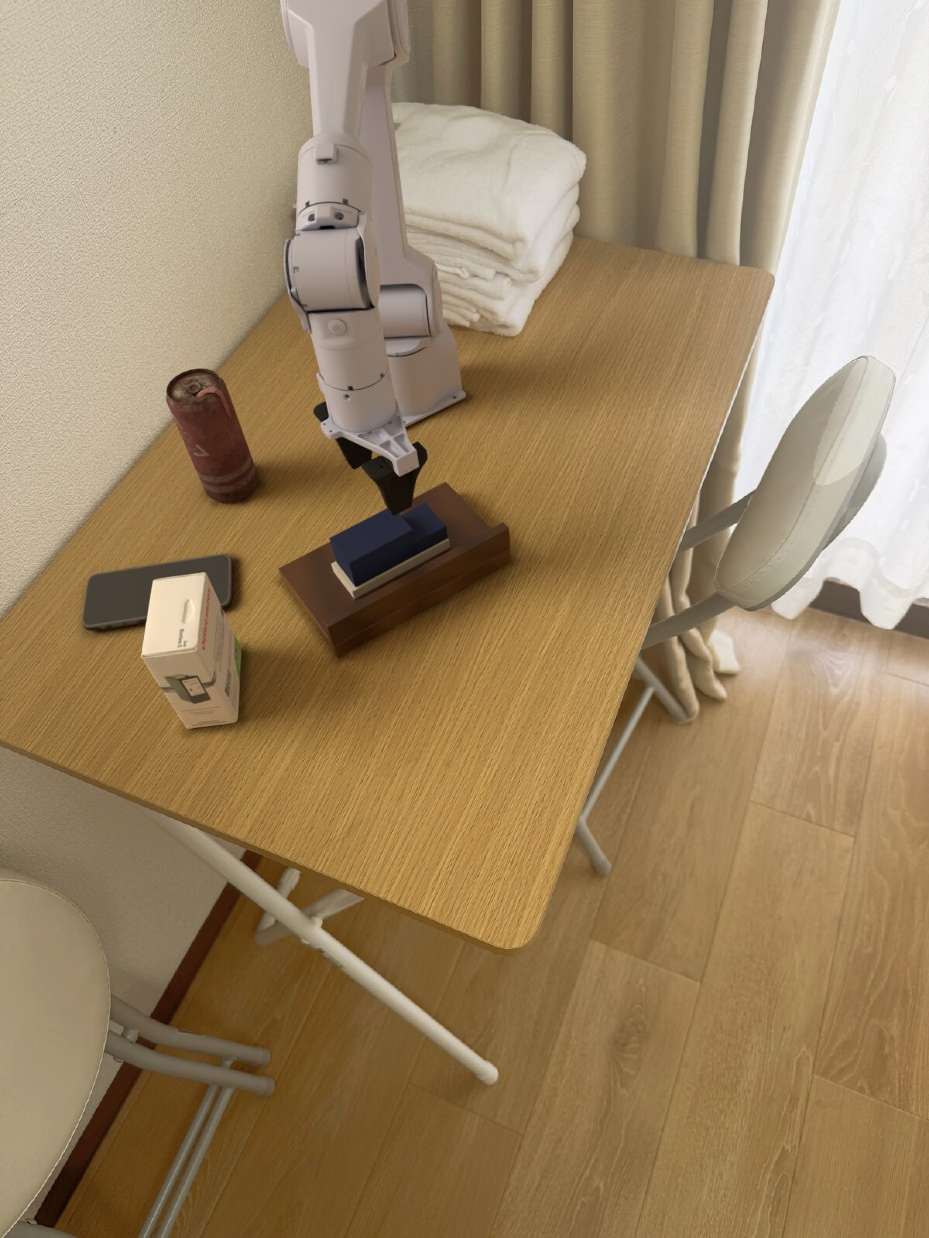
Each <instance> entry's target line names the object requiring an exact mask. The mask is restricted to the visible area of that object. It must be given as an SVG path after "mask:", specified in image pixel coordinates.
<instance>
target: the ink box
mask: <svg viewBox="0 0 929 1238" xmlns="http://www.w3.org/2000/svg"><path fill="white" fill-rule="evenodd" d="M224 610H225V609H224ZM224 610H223V608H222V606H221V604H220V602H219V600H218V598H217V595H216V593H215V591H214V589H213V587H212V585H211V583H210V580H209V578H208V576H207V574H206V573H204V572H203V573H196V574H189V575H181V576H173V577H167V578H160V579H155V580H153V584H152V590H151V596H150V603H149V609H148V616H147V622H145V627H144V628H145V629H144V635H143V641H142V648H141V654H140V658H141V659H142V661H143V662H144V664H145V666H146V667H147V669H148V670H149V672H150V673H151V675H152V677H153V679H154V680H155V681H156V683H157V684H158V686H159V687H160V689H161V691H162V693H163V694H164V695H165V697H166V698H167V701H169V703H170V705H171V706H172V708H173V710H174V711H175V713H176V715H177V716H178V717H179V719H180V721H181V722H182V724H183V725H184V726H185V728H186V729H187V730H191V729H197V728H204V727H213V726H221V725H230V724H235V723H237V721H238V720H239V708H240V707H239V706H240V688H241V687H240V686H241V669H242V651H243V650H242V647H241V644H240V643H239V641H238V638H237V637H236V635H235V632H234V630H233V627H232V626H231V623H230V621H229V619H228V617H227V614H226V613H225V611H224Z"/></svg>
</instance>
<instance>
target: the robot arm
mask: <svg viewBox="0 0 929 1238" xmlns="http://www.w3.org/2000/svg"><path fill="white" fill-rule="evenodd" d="M279 4H280V13H281V20H282V26H283V30H284V35H285V38H286V42H287V44H288V47H289V49H290V50H291V52H292V53H293V54H294V55H295V57H296V60H297V62H298V65H299V66H300V67H302V68H305V69H306V70H307V69H308V71H309V72H308V74H309V88H310V107H311V121H312V134H313V136H312V137H311V138H309V139H308V140H306V141H305V143H304V144H303V145H302V146H300V147H301V148H300V149H299V152H298V155H297V156H298V157H297V181H296V209H295V210H296V211H295V212H296V213H295V214H296V215H295V235H294V237H293V238H287V239H286V240H285V242H284V247H283V270H284V271H283V272H284V277H285V284H286V288H287V289H286V290H287V293H288V297H289V300H290V303H291V305H292V307H293V310H294V311H295V312H296V313H297V315H298V316H299V320H300V324H301V326H302V330H303V331H304V332H305V333H308V334H310V338H311V341H312V346H313V350H314V354H315V357H316V361H317V365H318V369H319V372H317V373H316V374H315V376H316V380H317V383H318V386H319V387H318V388H319V390H320V392H321V393H322V394H323V395H324V399H325V400H324V401H322V402H321V403H320V402H319V403H318V404H316V405H315V407H313V412H312V413H313V415H314V416H315V418H316V419H317V420H318V421H319V422H320V424H319V425H320V430H321V432H322V434H324V435H325V437H326V438H327V439H328V440H331V441H334V440H335V443H336V444H337V445H338V448H339V449H340V451H341V454H342V455H343V457H344V459H345V461H346V462H347V464H348V465H349V467H350V468H351V469H352V470H353V471H355V470H357V469H359V468H361V469H362V470H363V472H364V473H365V474H366V475H367V476H368V477H369V479H371V481H373V482H374V483H375V485H376V487H377V488H378V490H379V492H380V495H381V497H382V500H383V503H384V505H385V507H386V509H387V508H388V510H389V511H390V512H391V513H392V515H397V514H399V513H401V512H403V511H404V510H406V509H408V508H410V507H411V506H412V501H413V498H414V494H415V490H416V489H415V488H416V484H417V480H418V477H419V474H420V473H421V470H422V469H423V468H424V466H425V464H426V463H427V461H428V458H429V457H428V450H427V449H426V448H425V446H424V445H422V444H421V442H419V440H417V441H415V442H411V440H410V438H409V435H408V432H407V429H406V428H407V427H409V426H411V425H413V424H415V423H417V422H419V421H421V420H424V419H425V418H427V417H429V416H431V415H433V414H436V413H438V412H439V411H441V410H443V409H445V408H447V407H450V406H452V405H453V404H456V403H457V402H459V401H462V400H464V399H465V398H466V397H467V394H466V392H465V390H463V385H462V375H461V365H460V356H459V348H458V345H457V341H456V338H455V336H454V334H453V332H452V330H451V329H450V327H449V325H448V324H447V323H446V322H445V320H444V308H443V295H442V293H443V292H442V285H441V283H440V280H439V274H438V266H437V265H436V264H435V260H434V258H432V257H430V256H428V255H427V254H426V253H423V252H422V251H420V250H418V249H417V248H415V247H413V246H412V245H410V244H409V242H408V233H407V225H406V224H407V223H406V217H405V207H404V198H403V190H402V181H401V173H400V164H399V156H398V147H397V139H396V131H395V123H394V121H395V120H394V115H393V113H394V112H393V104H392V98H391V83H392V77H393V72H394V70H395V69H397V68H399V67H401V66H403V65H405V64H407V63H409V62H410V54H411V47H412V46H411V37H410V36H411V35H410V26H409V13H408V1H407V0H279ZM373 452H374V453H376V454H378V456H376V457H374V458H373Z"/></svg>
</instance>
